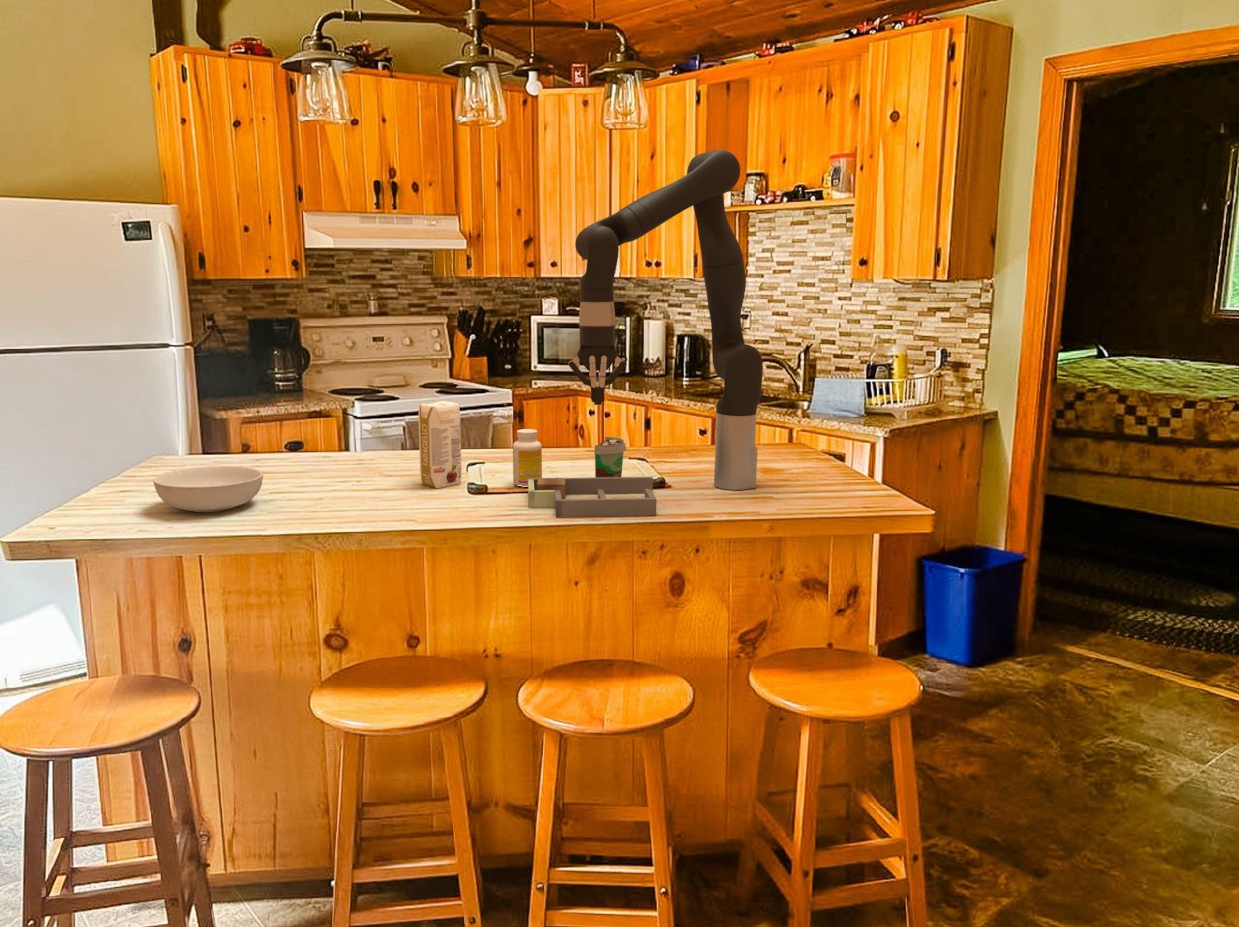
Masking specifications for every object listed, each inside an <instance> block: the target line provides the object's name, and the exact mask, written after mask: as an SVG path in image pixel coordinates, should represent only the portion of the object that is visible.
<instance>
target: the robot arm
mask: <svg viewBox="0 0 1239 927" xmlns="http://www.w3.org/2000/svg"><path fill="white" fill-rule="evenodd" d="M686 170H687V171H686V175H684V176H682V177H681V178H679V179H677V180H675V181H674V182H671V183H669V184H667V185H665V186H663V187H660V188H658V189H656V190H654V191H651V192H649V193H647V194H645V195H643V196H642V197H641V196H640V197H639V198H638V199H636V200H634V201H632V202H631V203H629V204H627V205H625V206H624V207H623V208H621V209H620V210H618V211H617V212H615V213H613V214H611V215H608V216H607V217H604V218H602V219H600V220H598V221H596V222H594V223H590V225H588V226H586V227H585V228H583V229H582V230H581V231H580V232H579V233H578V234H577V237H576V238H575V243H574V246H575V250H576V253H577V254H578V256H580V257H581V258H582V259H584V260H586V267H585V269H586V271H585V273H584V274H583V275H582V276H581V279H580V283H579V286H580V287H579V288H580V290H579V292H580V303H579V304H580V305H579V314H578V316H579V319H578V323H579V326H578V327H579V328H578V329H579V349H578V350H577V356H575V358H573V359H572V360H569V361H568V363H567V364H568V366H569V368H570V369H571V370H572V372H573V373H574V374H575V375H576V377H577V378H578V379H579V380H580V382H581V383H582V384H583V385H584V386H588V387H590V400H591V402H592V403H593V405H594V406H601V405H602V403H604V402H605V389H606V387H607V386H608V385H613V383H614V382H615V380H617V378H618V376H620V374H621V373H622V371H623V370H624V369H625V368H626V366H627V362H626V361H625V360H624V359H621V358H620V357H619V356H618V352H617V350H616V311H615V302H614V299H615V297H614V294H615V293H614V291H615V290H614V279H615V274H616V271H617V266H618V260H619V251H620V249H619V248H620V246H622V245H624V244H626V243H630V242H634V241H636V240H638V239H640V238H642V237H643V236H645V235H646V234H648V233H649V232H651V231H653V230H654V229H656V228H658V227H659V226H661V225H663V224H664V223H666V222H667V221H669V220H671V219H672V218H674V217H675V216H676V215H679V214H680V213H682V212H684V211H686V210H688V209H689V208H691V207H693V211H694V215H695V221H696V226H697V227H696V228H697V233H698V234H697V235H698V242H699V248H700V249H699V250H700V254H701V263H702V272H703V280H704V288H705V291H706V299H707V306H708V313H709V318H710V326H711V345H712V346H711V347H712V350H711V353H712V366H713V369H714V372H715V373H716V376H718V377H719V378H720V379H721V380H723V382H724V385H723V394H722V396H721V398H720V399H718V400H717V401H716V415H715V416H716V418H715V422H716V423H715V443H714V444H715V445H714V446H715V448H714V470H713V471H714V473H713V479H714V480H713V486H714V487H716V488H719V489H725V490H731V491H732V490H733V491H734V490H735V491H739V490H740V491H741V490H742V491H743V490H749V489H756V488H757V473H758V472H757V470H758V469H757V468H758V467H757V466H758V452H759V450H758V447H757V446H756V438H757V437H756V434H757V413H758V412H757V410H758V406H759V405H760V404H759V403H760V402H761V397H762V388H763V387H762V384H763V375H764V373H763V372H764V365H763V364H764V363H763V358H762V355H761V352H760V351H759V350H758V349H757V348H756V347H755V346H753V345H750V344H747V343H745V339H744V336H743V335H744V334H743V328H742V318H741V317H742V310H743V304H744V299H745V294H746V287H747V279H746V276H747V275H746V271H745V270H746V268H745V262H744V255H743V251H742V248H741V245H740V243H739V241H738V239H737V237H736V236H735V233H734V231H733V230H732V228H731V226H730V223H729V221H728V217H727V214H726V209H725V200H724V194H726V193H727V192H730V191H731V190H733V188H734V187H736V185H737V183H738V181H739V179H740V177H741V176H740V175H741V164H740V161H739V159H738V158H737V157H736V156H735V155H734V154H733V153H732V152H730V151H728V150H725V149H715V150H711V151H706V152H703V153H699V154H696V155H695V156H694V157H692V159H691V160H690V161H689V163H688V166H687V169H686ZM580 362H581V364H582V365H583V366H584V368H585V369H586V370H587V371H588V373H589V378H587V377H586V376H585V374H584V373H583V372H582V370H580V368H581V364H580ZM614 362H615V363H614ZM613 363H614V369H613V370H612V371H611V373H610V374H609V375H608V376H607V375H606V371H608V370H609V369H610V367H611V366H612V365H613ZM597 371H598V378H597ZM606 376H607V378H606Z"/></svg>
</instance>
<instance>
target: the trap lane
mask: <svg viewBox="0 0 1239 927" xmlns="http://www.w3.org/2000/svg"><path fill="white" fill-rule="evenodd" d="M564 478H565V495H587V494H588V495H597V498H565V499H562V498H561V493H560V490H537V483H538V478H528V488H527V493H528V494H527V495H528V497H527V498H528V508H529V509H548V508H553V509H554V512H555V517H556V518H592V517H593V518H598V517H599V518H601V517H602V518H605V517H606V518H607V517H608V518H611V517H648V516H647V515H656V516H657V503H658V502H657V501H658V500H657V499H658V498H656V496H655V494H654V493H653V488H654V486H653V485H654V481H653V480H654V478H653V476H621V477H595V476H594V477H591V476H590V477H564ZM606 494H613V495H614V494H644V497H632V498H631V497H627V498H625V497H621V498H620V497H619V498H618V497H617V498H608V497H606Z"/></svg>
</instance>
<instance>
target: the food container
mask: <svg viewBox="0 0 1239 927" xmlns="http://www.w3.org/2000/svg"><path fill="white" fill-rule="evenodd" d="M626 451H627V446H626V443H625V441H624V439H622V438H619V437H615V436H605V440H604V441H603V442H601V443H599V444H595V445H594V452H593V453H594V466H595V470H594V471H595V473H594V477H623V476H622V472H623V464H624V463H623V462H624V453H625V452H626Z"/></svg>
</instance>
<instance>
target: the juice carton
mask: <svg viewBox="0 0 1239 927" xmlns="http://www.w3.org/2000/svg"><path fill="white" fill-rule="evenodd" d="M460 410H461V409H460V404H459V403H457V402H452V401H445V400H440V401H436V402H432V403H427V402H426V403H418V416H417V417H418V439H419V440H418V443H419V445H418V446H419V474H420V481H421V484H422V485H424V486H428V487H431V488H435V489H441V488H447V487H450V486H457V485H460V484H461V483H462V440H461V439H462V437H461V435H462V434H461V433H462V432H461V411H460Z"/></svg>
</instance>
